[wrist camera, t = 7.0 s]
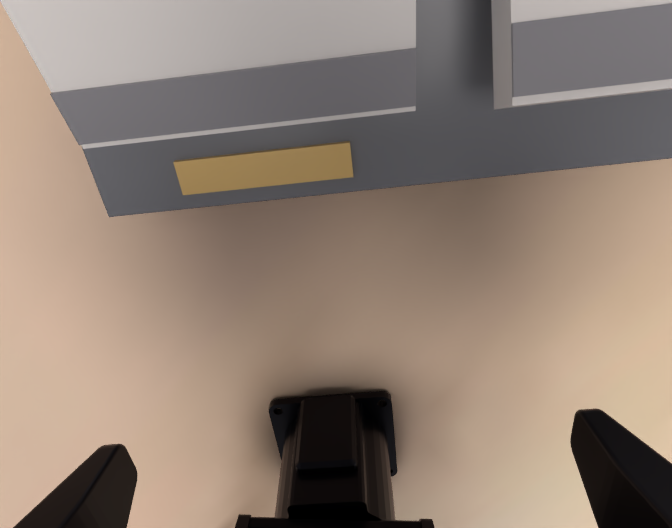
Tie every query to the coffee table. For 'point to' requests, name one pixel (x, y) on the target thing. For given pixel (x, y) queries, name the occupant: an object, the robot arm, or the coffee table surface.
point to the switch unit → (393, 136)
